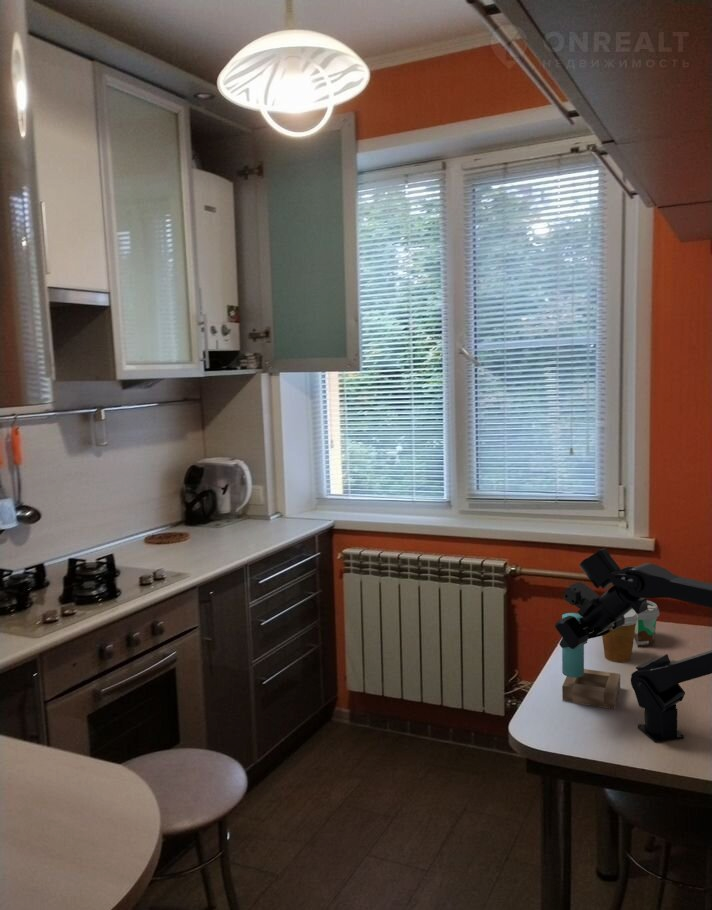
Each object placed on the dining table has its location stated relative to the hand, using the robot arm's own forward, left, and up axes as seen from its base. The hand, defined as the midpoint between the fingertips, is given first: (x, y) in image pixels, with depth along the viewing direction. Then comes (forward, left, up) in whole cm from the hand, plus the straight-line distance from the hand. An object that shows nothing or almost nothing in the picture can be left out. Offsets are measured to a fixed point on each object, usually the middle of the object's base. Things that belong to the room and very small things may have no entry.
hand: (567, 642), depth 162 cm
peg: (-1, -1, -7) cm, 7 cm away
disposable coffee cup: (+18, -23, -13) cm, 32 cm away
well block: (+1, -6, -13) cm, 14 cm away
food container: (+26, -36, -13) cm, 46 cm away
